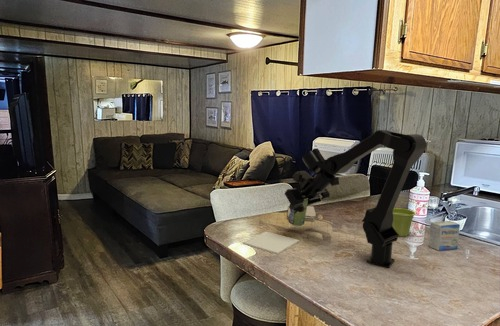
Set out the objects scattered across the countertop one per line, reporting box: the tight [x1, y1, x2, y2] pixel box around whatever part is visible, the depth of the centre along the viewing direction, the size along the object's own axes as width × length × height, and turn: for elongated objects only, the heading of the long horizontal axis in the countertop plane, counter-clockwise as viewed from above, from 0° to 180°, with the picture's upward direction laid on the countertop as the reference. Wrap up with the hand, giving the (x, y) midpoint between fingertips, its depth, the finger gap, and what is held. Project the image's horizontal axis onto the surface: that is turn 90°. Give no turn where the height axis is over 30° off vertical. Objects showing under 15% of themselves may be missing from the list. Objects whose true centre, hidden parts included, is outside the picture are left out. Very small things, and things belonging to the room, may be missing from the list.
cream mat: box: [242, 231, 300, 255], centre depth 117 cm, size 14×14×1 cm
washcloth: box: [287, 205, 317, 222], centre depth 150 cm, size 12×18×3 cm, turn 175°
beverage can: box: [287, 199, 308, 227], centre depth 128 cm, size 6×7×12 cm
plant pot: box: [392, 207, 416, 237], centre depth 127 cm, size 9×9×9 cm
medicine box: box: [428, 220, 461, 252], centre depth 114 cm, size 8×4×9 cm, turn 105°
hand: (295, 207), depth 129 cm, fingers closed on beverage can, 6 cm apart
